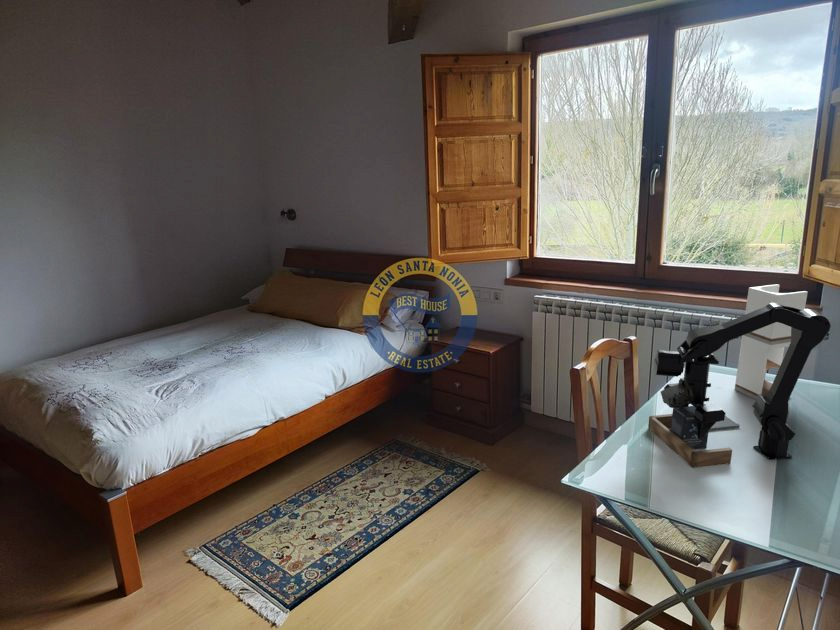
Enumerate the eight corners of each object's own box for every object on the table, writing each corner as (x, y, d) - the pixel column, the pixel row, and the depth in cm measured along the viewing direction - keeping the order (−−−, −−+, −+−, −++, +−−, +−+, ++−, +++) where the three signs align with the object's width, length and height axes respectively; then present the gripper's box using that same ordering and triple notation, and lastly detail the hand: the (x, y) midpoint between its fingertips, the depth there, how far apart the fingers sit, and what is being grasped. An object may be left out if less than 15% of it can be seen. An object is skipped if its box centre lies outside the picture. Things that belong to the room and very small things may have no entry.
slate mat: (739, 427, 162) (739, 425, 161) (700, 431, 160) (701, 429, 160) (712, 409, 173) (713, 407, 173) (676, 413, 171) (676, 410, 171)
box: (680, 451, 150) (684, 416, 147) (668, 441, 155) (672, 406, 152) (707, 448, 151) (711, 413, 148) (694, 438, 156) (698, 404, 153)
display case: (761, 402, 177) (778, 295, 167) (734, 389, 187) (748, 287, 177) (789, 396, 180) (807, 291, 170) (761, 384, 190) (777, 284, 180)
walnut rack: (730, 463, 144) (732, 449, 143) (692, 467, 142) (694, 453, 141) (681, 425, 164) (683, 412, 163) (648, 428, 163) (649, 416, 162)
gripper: (648, 366, 155) (643, 417, 160) (688, 394, 138) (682, 450, 142) (685, 363, 157) (680, 414, 161) (730, 390, 139) (722, 446, 143)
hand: (689, 430), depth 152 cm, fingers open, 9 cm apart
